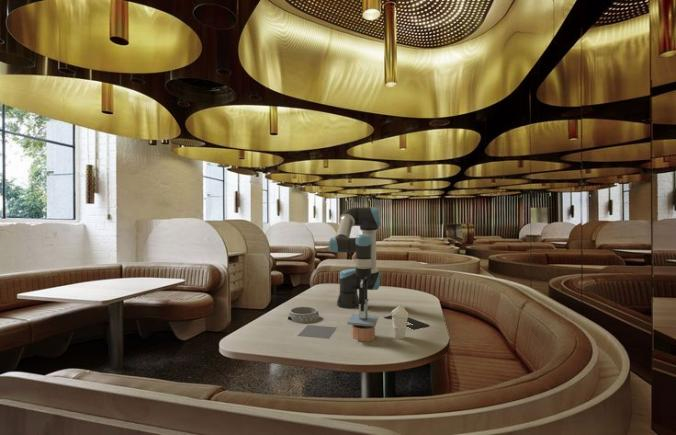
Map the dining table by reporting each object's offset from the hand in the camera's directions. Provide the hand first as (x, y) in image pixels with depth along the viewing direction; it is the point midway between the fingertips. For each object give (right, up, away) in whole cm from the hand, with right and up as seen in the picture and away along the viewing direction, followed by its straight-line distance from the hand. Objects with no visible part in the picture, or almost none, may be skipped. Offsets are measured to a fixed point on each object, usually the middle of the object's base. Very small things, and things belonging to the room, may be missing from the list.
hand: (363, 316), depth 155 cm
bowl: (0, -10, 0) cm, 10 cm away
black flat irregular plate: (+24, -11, +23) cm, 35 cm away
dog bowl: (-31, -11, +28) cm, 43 cm away
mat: (-22, -10, +6) cm, 25 cm away
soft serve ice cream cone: (+17, -11, 0) cm, 20 cm away
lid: (0, -2, 0) cm, 2 cm away
